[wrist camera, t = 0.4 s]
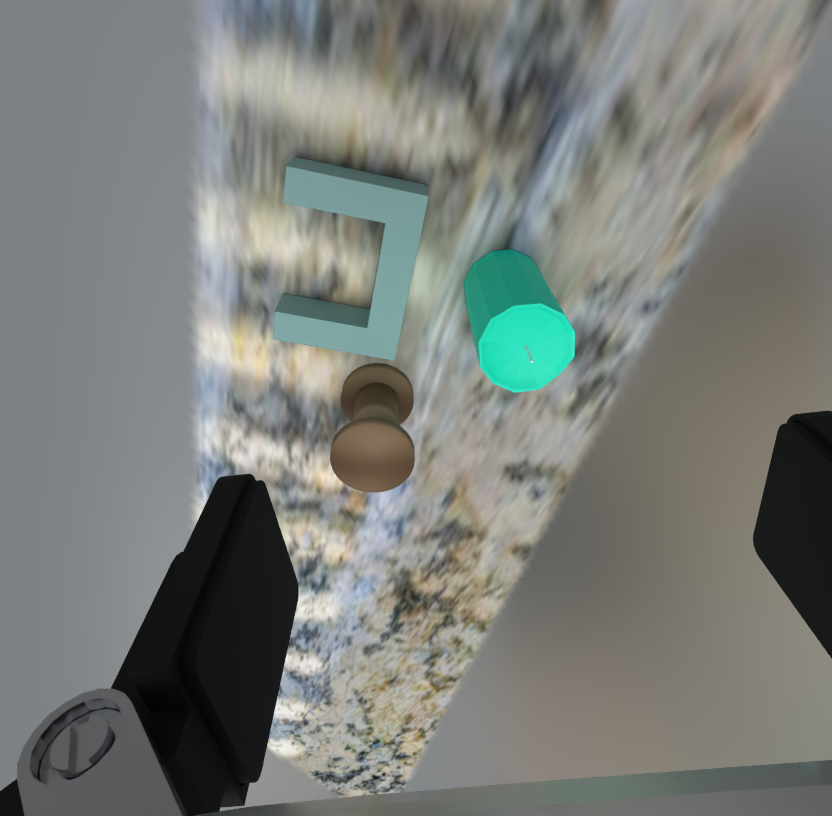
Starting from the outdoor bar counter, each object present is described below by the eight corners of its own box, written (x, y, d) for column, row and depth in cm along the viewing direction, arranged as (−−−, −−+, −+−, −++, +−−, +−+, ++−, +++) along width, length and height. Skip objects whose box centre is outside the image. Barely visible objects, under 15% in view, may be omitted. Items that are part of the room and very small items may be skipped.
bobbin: (335, 368, 47) (321, 431, 39) (407, 359, 46) (408, 420, 39) (349, 428, 50) (339, 496, 42) (417, 419, 50) (419, 487, 42)
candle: (476, 334, 45) (496, 417, 35) (452, 265, 42) (467, 334, 32) (550, 309, 44) (593, 387, 34) (531, 236, 41) (571, 298, 31)
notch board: (295, 156, 38) (286, 166, 35) (427, 185, 39) (428, 196, 36) (281, 319, 44) (272, 339, 41) (395, 340, 46) (394, 360, 43)
